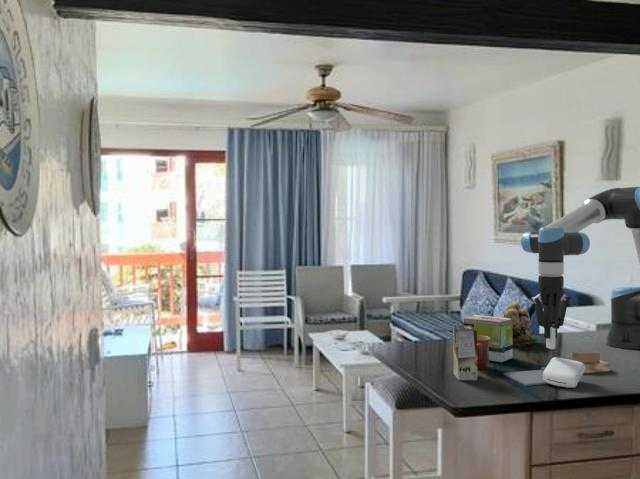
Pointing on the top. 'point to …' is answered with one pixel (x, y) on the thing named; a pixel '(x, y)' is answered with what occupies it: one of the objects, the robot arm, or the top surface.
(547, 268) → the robot arm
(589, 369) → the rest
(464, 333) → the coffee box
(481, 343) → the mug
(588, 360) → the tall brown carton
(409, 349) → the top surface
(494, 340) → the tea box
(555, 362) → the photo printer
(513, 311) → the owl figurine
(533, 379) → the mat
